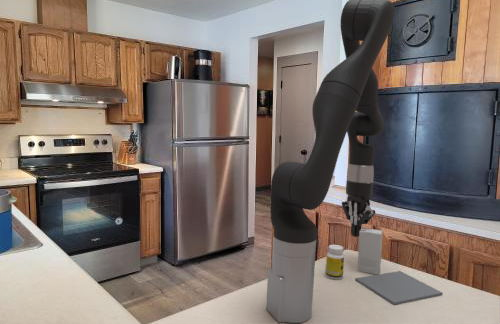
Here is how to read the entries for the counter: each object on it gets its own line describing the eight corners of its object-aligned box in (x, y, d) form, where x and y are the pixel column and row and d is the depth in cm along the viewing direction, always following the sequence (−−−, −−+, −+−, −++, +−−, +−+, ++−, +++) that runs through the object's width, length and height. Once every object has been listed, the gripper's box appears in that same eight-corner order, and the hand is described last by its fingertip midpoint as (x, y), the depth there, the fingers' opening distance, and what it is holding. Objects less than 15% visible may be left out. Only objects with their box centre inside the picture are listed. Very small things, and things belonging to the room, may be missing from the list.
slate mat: (394, 305, 85) (394, 302, 85) (355, 280, 98) (355, 278, 98) (442, 295, 91) (442, 292, 91) (399, 272, 104) (400, 270, 104)
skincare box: (380, 270, 105) (384, 230, 104) (378, 276, 101) (382, 234, 100) (358, 266, 108) (361, 226, 107) (356, 271, 104) (359, 230, 103)
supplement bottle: (343, 281, 97) (345, 250, 96) (325, 278, 98) (327, 248, 97) (342, 273, 102) (344, 244, 101) (325, 271, 103) (327, 243, 102)
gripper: (335, 176, 112) (332, 230, 114) (365, 183, 100) (360, 244, 102) (355, 175, 115) (351, 228, 117) (385, 183, 103) (380, 241, 105)
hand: (355, 235), depth 109 cm, fingers closed
